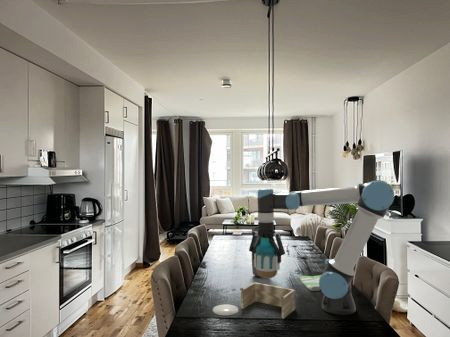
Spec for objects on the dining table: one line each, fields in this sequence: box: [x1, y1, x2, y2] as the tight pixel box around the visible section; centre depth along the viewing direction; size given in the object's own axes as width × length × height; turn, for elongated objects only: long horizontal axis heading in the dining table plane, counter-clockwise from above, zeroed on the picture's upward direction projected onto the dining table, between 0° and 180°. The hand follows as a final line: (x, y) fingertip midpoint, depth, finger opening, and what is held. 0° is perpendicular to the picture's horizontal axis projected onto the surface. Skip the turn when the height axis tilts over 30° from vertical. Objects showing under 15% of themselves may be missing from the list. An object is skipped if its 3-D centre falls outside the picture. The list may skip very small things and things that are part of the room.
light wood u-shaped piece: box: [239, 282, 296, 320], centre depth 164 cm, size 22×14×10 cm, turn 56°
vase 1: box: [251, 226, 261, 278], centre depth 218 cm, size 12×12×30 cm
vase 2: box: [256, 237, 279, 279], centre depth 164 cm, size 11×11×19 cm
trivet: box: [212, 303, 239, 316], centre depth 163 cm, size 12×12×1 cm
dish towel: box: [298, 274, 322, 292], centre depth 201 cm, size 17×23×4 cm
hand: (266, 268), depth 164 cm, fingers closed on vase 2, 10 cm apart
